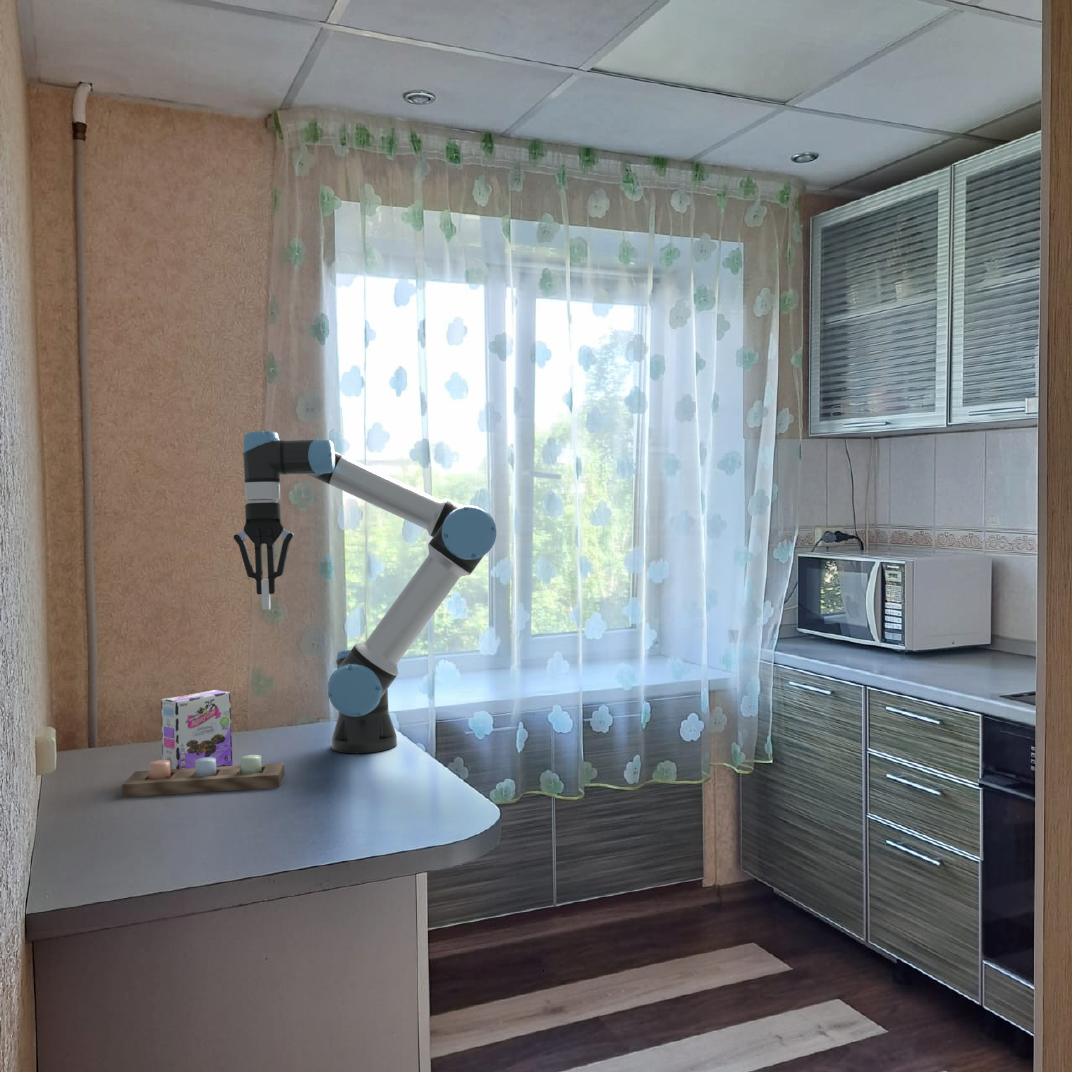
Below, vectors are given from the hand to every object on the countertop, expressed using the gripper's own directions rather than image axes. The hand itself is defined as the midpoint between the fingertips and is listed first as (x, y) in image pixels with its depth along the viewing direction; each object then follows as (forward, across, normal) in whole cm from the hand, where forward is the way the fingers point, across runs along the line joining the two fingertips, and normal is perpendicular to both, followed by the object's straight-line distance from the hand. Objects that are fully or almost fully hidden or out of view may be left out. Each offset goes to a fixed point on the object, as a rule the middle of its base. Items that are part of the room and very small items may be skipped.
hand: (266, 609), depth 215 cm
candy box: (+35, +15, +1) cm, 38 cm away
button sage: (+33, +2, +15) cm, 36 cm away
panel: (+34, +11, +15) cm, 39 cm away
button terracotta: (+33, +20, +15) cm, 41 cm away
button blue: (+33, +11, +15) cm, 38 cm away
